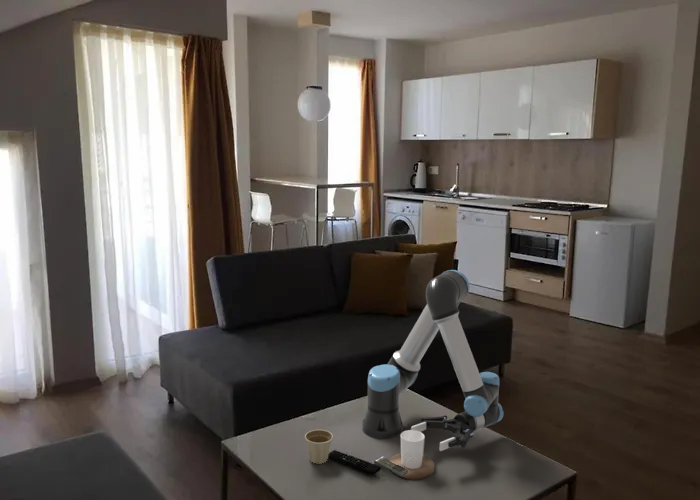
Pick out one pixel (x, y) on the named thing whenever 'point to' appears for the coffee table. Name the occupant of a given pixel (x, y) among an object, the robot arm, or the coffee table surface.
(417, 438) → the white cup
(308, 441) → the flower pot
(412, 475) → the walnut coaster
